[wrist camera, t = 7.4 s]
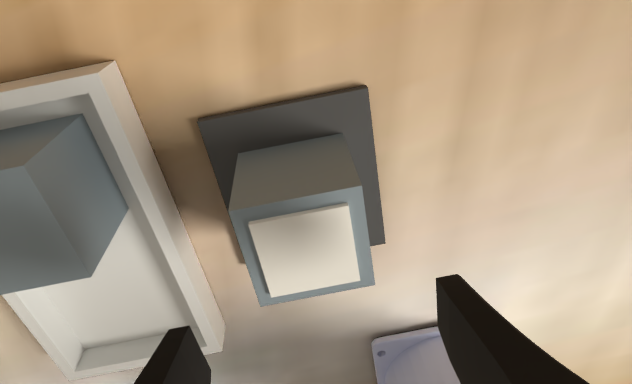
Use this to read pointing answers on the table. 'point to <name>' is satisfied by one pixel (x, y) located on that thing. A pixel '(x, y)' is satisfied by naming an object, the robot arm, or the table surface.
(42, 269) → the plain block
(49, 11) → the table surface
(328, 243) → the labelled block
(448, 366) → the robot arm
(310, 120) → the dark grey square plate
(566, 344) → the table surface
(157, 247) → the parts tray
